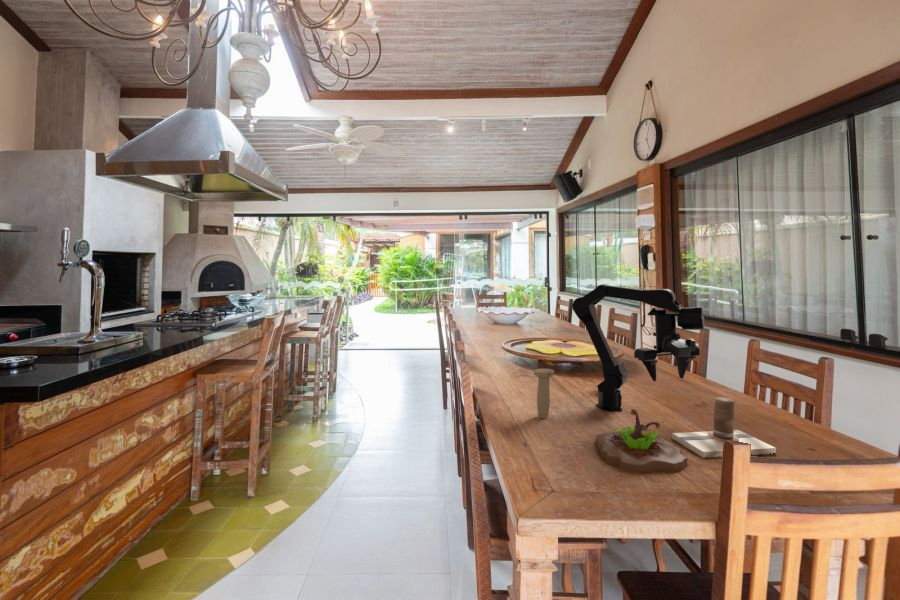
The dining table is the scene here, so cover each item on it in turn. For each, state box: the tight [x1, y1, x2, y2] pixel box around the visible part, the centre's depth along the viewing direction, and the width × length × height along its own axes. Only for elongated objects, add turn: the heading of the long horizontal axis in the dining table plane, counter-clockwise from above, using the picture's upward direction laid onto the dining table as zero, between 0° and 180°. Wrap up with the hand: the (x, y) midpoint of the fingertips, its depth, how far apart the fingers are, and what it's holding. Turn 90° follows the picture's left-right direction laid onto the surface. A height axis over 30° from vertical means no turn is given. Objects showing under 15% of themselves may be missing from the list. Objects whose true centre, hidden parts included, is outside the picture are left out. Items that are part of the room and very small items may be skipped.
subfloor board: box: [671, 429, 777, 459], centre depth 111 cm, size 20×12×2 cm, turn 96°
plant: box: [595, 408, 688, 474], centre depth 106 cm, size 20×20×11 cm
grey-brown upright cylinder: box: [712, 397, 736, 440], centre depth 113 cm, size 5×5×10 cm
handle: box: [533, 368, 555, 420], centre depth 132 cm, size 5×6×15 cm
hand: (668, 379), depth 130 cm, fingers open, 9 cm apart
